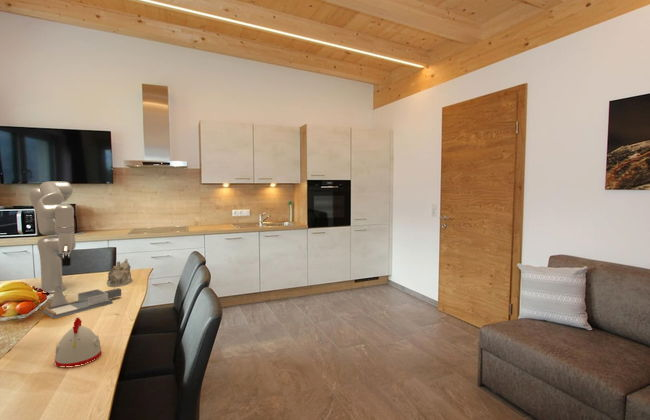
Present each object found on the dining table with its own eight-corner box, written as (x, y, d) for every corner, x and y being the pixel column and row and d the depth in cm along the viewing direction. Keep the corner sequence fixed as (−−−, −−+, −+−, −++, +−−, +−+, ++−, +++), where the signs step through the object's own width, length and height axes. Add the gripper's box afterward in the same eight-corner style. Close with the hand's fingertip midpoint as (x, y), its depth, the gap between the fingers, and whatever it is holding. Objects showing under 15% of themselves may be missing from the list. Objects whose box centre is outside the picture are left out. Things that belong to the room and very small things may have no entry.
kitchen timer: (49, 371, 120) (47, 328, 119) (61, 352, 133) (59, 314, 131) (97, 363, 126) (95, 322, 124) (104, 346, 138) (102, 309, 137)
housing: (78, 301, 183) (77, 293, 182) (114, 292, 197) (114, 285, 197) (88, 306, 176) (87, 298, 176) (125, 297, 191) (125, 289, 190)
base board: (43, 312, 171) (42, 307, 171) (101, 298, 192) (101, 294, 192) (53, 318, 164) (53, 313, 164) (112, 303, 185) (112, 299, 185)
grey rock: (117, 278, 230) (116, 256, 228) (138, 281, 226) (136, 258, 224) (96, 286, 216) (94, 262, 213) (117, 290, 211) (116, 266, 209)
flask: (58, 308, 176) (57, 289, 175) (46, 307, 177) (45, 288, 177) (71, 304, 183) (70, 285, 182) (59, 302, 185) (58, 284, 184)
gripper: (56, 228, 181) (57, 261, 182) (55, 233, 167) (56, 268, 168) (74, 227, 185) (75, 259, 187) (74, 231, 171) (76, 266, 173)
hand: (66, 263), depth 177 cm, fingers open, 9 cm apart
